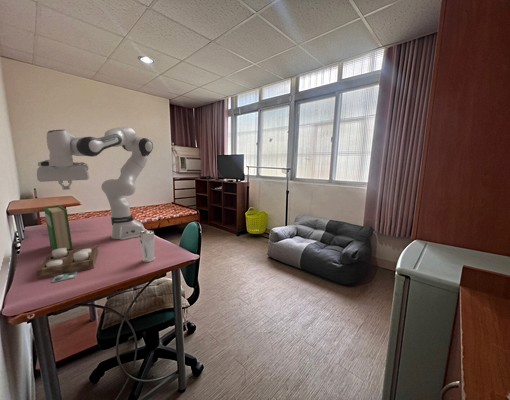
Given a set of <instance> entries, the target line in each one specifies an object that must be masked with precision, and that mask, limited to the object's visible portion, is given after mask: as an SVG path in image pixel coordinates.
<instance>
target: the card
mask: <svg viewBox="0 0 510 400" xmlns="http://www.w3.org/2000/svg"><path fill="white" fill-rule="evenodd" d="M78 273H79V271H77V272H71V273H66V274H61V275H56V276H53V279H52V280H51V284H52V283H58V282H62V281H67V280H72V279H76V277H77V275H78Z"/></svg>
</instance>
